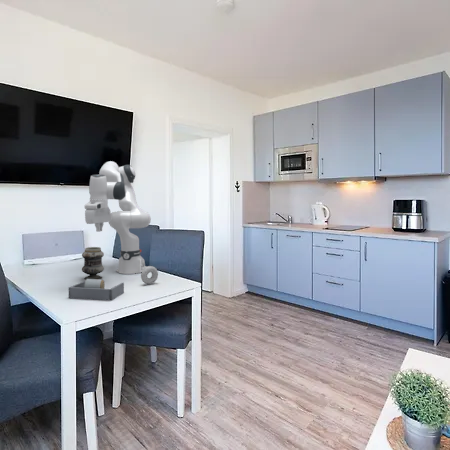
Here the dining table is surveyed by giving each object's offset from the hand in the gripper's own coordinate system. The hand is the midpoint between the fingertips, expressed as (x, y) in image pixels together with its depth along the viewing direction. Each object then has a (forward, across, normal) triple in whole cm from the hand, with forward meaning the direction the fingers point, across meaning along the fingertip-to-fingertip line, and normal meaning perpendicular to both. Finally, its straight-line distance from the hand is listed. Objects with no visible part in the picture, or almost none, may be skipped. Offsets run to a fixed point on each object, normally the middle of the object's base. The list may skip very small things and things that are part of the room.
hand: (99, 231), depth 172 cm
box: (+29, +17, +8) cm, 35 cm away
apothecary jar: (+29, -14, -12) cm, 35 cm away
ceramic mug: (+29, +15, +5) cm, 33 cm away
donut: (+29, -7, +25) cm, 39 cm away
